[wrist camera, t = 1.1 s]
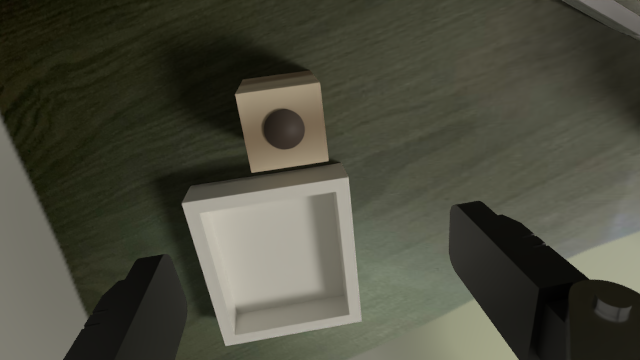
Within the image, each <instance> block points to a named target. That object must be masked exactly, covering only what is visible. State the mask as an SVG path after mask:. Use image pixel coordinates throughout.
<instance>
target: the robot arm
mask: <svg viewBox="0 0 640 360" xmlns="http://www.w3.org/2000/svg"><path fill="white" fill-rule="evenodd" d="M449 256H450V260H451V263H452V266H453V268H454V270H455V272H456V273H457V275H458V276H459V277H460V279H461V280H462V281H463V283H464V284H465V286H466V287H467V288H468V290H469V291H470V293H471V294H472V295H473V297H474V298H475V299H476V301H477V302H478V303H479V305H480V306H481V308H482V309H483V311H484V312H485V313H486V315H487V316H488V317H489V319H490V320H491V322H492V323H493V324H494V326H495V327H496V328H497V330H498V331H499V333H500V334H501V335H502V337H503V338H504V340H505V341H506V342H507V344H508V345H509V347H510V348H511V349H512V351H513V352H514V353H515V355H516V356H517V358H518V359H519V360H640V294H639V293H638V292H636V291H634V290H632V289H630V288H628V287H625V286H623V285H620V284H617V283H613V282H609V281H604V280H590V279H588V278H587V277H586V276H585V275H584V274H582V273H581V272H580V271H579V270H577V269H576V268H575V267H574V266H573V265H571V264H570V263H569V262H568V261H567V260H565V259H564V258H563V257H562V256H561V255H559V254H558V253H557V252H556V251H554V250H553V249H552V248H551V247H550V246H546V244H545V242H543V241H542V240H541V239H540V238H539V237H537V236H534V233H533V232H531V231H530V230H529V229H528V228H526V227H525V226H524V225H523V224H522V223H520V222H518V221H516V220H513V219H511V218H509V217H507V216H504V215H497V214H495V213H494V212H493V211H492V210H491V209H490V208H489V207H487V206H486V205H485V204H484V203H483V202H481V201H474V202H469V203H463V204H457V205H453V206H452V207H451V210H450V229H449ZM186 318H187V302H186V297H185V294H184V292H183V289H182V286H181V283H180V281H179V278H178V275H177V273H176V270H175V267H174V264H173V262H172V259H171V257H170V256H169V255H168V254H163V255H157V256H151V257H145V258H139V259H137V260H136V261H135V263H134V265H133V266H132V268H131V270H130V272H129V273H128V275H127V277H126V279H125V280H121V281H118V282H117V283H116V284H115V285H114V286H113V287H112V288H110V289H109V290H108V291H107V292H106V293H105V294H104V295H103V296H102V297H101V299H100V301H99V302H98V304H97V306H96V307H95V309H94V310H93V315H90V317H89V319H88V320H87V322H86V323H85V325H84V327H85V328H84V329H82V330H81V332H80V333H79V335H78V337H77V338H76V340H75V341H74V343H73V345H72V346H71V348H70V350H69V351H68V353H67V354H66V356H65V358H64V359H63V360H175V357H176V354H177V350H178V347H179V343H180V340H181V336H182V333H183V329H184V326H185V323H186Z"/></svg>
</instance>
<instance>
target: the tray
mask: <svg viewBox="0 0 640 360" xmlns="http://www.w3.org/2000/svg"><path fill="white" fill-rule="evenodd" d="M182 206H183V209H184V213H185V216H186V219H187V222H188V226H189V229H190V232H191V235H192V239H193V242H194V245H195V248H196V252H197V255H198V258H199V261H200V265H201V268H202V271H203V274H204V278H205V281H206V284H207V287H208V291H209V294H210V297H211V300H212V304H213V307H214V310H215V313H216V317H217V320H218V323H219V326H220V330H221V333H222V336H223V339H224V343H225V346H228V345H234V344H239V343H245V342H250V341H256V340H261V339H267V338H272V337H278V336H283V335H289V334H294V333H300V332H305V331H311V330H316V329H322V328H327V327H333V326H338V325H344V324H349V323H355V322H360V321H362V319H361V309H360V298H359V287H358V276H357V265H356V254H355V243H354V232H353V221H352V210H351V199H350V188H349V177H348V175H347V173H346V171H345V169H344V167H343V165H342V163H337V164H330V165H324V166H317V167H310V168H304V169H297V170H291V171H284V172H278V173H271V174H265V175H258V176H252V177H245V178H239V179H232V180H226V181H219V182H213V183H206V184H199V185H193V186H190V188H189V190H188V192H187V194H186V196H185V198H184V200H183V201H182Z"/></svg>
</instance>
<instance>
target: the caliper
mask: <svg viewBox="0 0 640 360" xmlns="http://www.w3.org/2000/svg"><path fill="white" fill-rule="evenodd" d="M561 1H563V2H565V3H567V4H569V5H570V6H572V7H574V8H576V9H577V10H579V11H581V12H583V13H585V14H586V15H588V16H590V17H592V18H594V19H595V20H597V21H599V22H601V23H602V24H604V25H606V26H608V27H610V28H612V29H614V30H616V31H619V32H621V33H623V34H625V35H630V36H631V37H633V38H635V39H637V40H639V41H640V16H638V15H637V14H635V13H633V12H632V11H630V10H629V9H627V8H625V7H624V6H622V5H620V4H619V3H617V2H615V1H614V0H561Z"/></svg>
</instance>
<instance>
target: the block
mask: <svg viewBox="0 0 640 360" xmlns="http://www.w3.org/2000/svg"><path fill="white" fill-rule="evenodd" d="M235 96H236V101H237V106H238V110H239V115H240V120H241V125H242V129H243V134H244V139H245V144H246V148H247V153H248V158H249V163H250V168H251V172H252V173H254V172H261V171H267V170H274V169H280V168H287V167H293V166H300V165H306V164H313V163H319V162H326V161H329V159H328V150H327V141H326V132H325V123H324V115H323V106H322V97H321V88H320V82H319V81H318V80H317V78H316V77H315V76H314V75H313V74H312V72H311V71H310V70H309V71H302V72H294V73H287V74H280V75H272V76H265V77H258V78H250V79H243V80H242V82H241V84H240V86H239V88H238V90H237V92H236V94H235Z"/></svg>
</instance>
